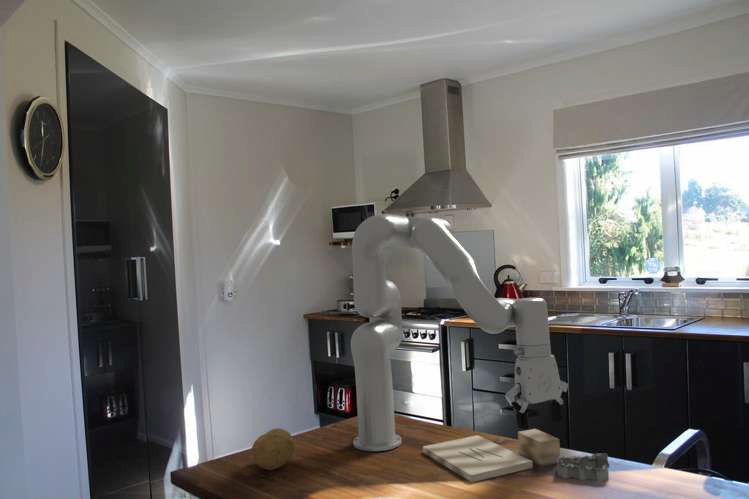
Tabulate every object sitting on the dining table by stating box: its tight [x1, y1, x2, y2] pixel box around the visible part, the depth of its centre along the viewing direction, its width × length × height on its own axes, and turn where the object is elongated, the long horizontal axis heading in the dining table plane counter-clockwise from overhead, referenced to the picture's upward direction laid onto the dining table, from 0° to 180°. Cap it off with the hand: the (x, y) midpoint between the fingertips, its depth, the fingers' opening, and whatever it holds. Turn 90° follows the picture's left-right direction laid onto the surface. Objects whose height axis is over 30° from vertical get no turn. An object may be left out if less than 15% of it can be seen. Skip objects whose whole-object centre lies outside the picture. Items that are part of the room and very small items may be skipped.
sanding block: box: [517, 428, 561, 467], centre depth 137 cm, size 9×5×6 cm, turn 21°
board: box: [422, 434, 534, 483], centre depth 138 cm, size 22×16×2 cm
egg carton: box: [556, 452, 610, 482], centre depth 127 cm, size 11×8×4 cm
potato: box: [251, 427, 296, 471], centre depth 141 cm, size 10×14×8 cm
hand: (540, 424), depth 137 cm, fingers open, 9 cm apart
